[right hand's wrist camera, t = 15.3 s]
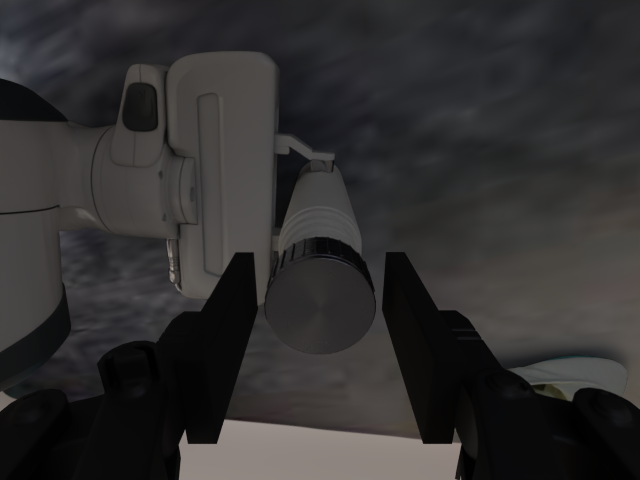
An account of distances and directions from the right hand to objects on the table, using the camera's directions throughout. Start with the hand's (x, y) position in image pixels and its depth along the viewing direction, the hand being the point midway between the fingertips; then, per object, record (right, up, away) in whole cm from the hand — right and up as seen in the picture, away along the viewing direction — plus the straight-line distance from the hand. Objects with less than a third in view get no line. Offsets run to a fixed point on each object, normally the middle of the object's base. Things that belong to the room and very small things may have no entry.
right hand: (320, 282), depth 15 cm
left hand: (+1, +5, +14) cm, 15 cm away
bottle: (0, +7, +20) cm, 21 cm away
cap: (0, -1, -2) cm, 2 cm away
